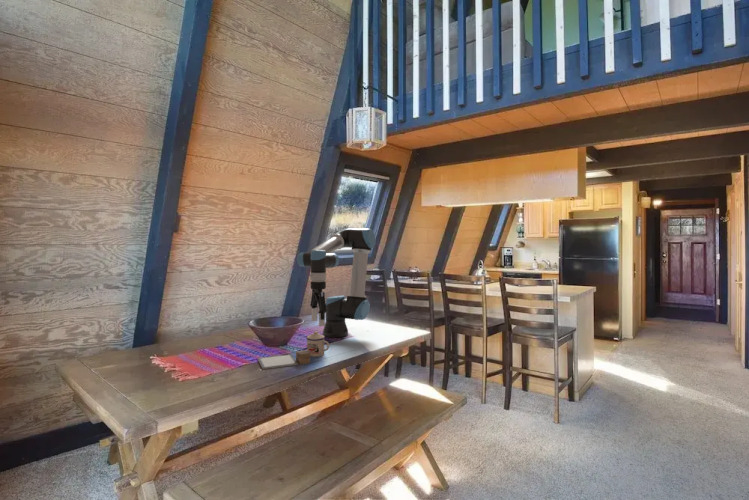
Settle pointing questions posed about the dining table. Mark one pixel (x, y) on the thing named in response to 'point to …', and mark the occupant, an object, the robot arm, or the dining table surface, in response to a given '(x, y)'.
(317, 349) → the teacup with lid
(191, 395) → the dining table surface
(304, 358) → the walnut block
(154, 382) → the dining table surface
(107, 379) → the dining table surface
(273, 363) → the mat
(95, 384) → the dining table surface
